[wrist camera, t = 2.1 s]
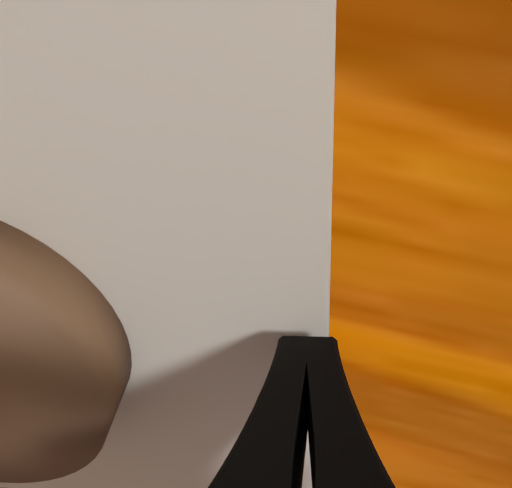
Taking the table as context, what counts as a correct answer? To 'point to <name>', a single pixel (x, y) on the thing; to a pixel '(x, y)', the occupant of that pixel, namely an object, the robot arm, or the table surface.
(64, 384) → the brown flat pebble
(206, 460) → the ledge
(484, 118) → the table surface
